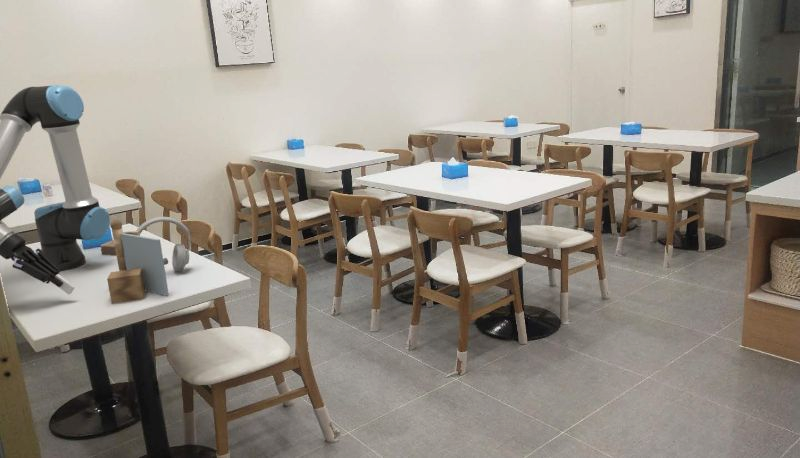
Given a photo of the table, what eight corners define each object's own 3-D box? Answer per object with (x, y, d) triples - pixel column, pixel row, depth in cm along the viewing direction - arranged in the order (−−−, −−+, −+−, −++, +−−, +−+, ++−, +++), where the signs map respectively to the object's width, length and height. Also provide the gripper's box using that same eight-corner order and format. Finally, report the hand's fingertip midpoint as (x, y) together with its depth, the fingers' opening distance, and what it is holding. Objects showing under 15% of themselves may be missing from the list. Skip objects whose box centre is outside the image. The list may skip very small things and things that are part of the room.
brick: (100, 255, 239) (98, 243, 237) (116, 249, 246) (114, 238, 245) (133, 257, 233) (131, 246, 232) (149, 251, 240) (147, 240, 239)
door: (165, 295, 187) (156, 240, 182) (128, 285, 198) (119, 233, 193) (176, 291, 190) (167, 237, 186) (139, 282, 201) (130, 230, 196)
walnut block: (111, 304, 184) (107, 278, 182) (115, 296, 190) (110, 272, 188) (143, 299, 186) (139, 274, 184) (146, 292, 193) (141, 268, 191)
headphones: (140, 283, 201) (130, 224, 196) (136, 276, 209) (126, 219, 204) (198, 271, 210) (189, 215, 205) (192, 265, 218) (184, 210, 213)
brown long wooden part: (119, 288, 197) (107, 221, 192) (123, 284, 201) (112, 219, 195) (145, 286, 198) (134, 220, 192) (148, 282, 201) (138, 217, 195)
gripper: (10, 245, 189) (75, 292, 194) (-15, 257, 176) (55, 307, 181) (24, 227, 188) (89, 275, 193) (-1, 238, 175) (70, 289, 180)
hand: (72, 290), depth 187 cm, fingers closed
